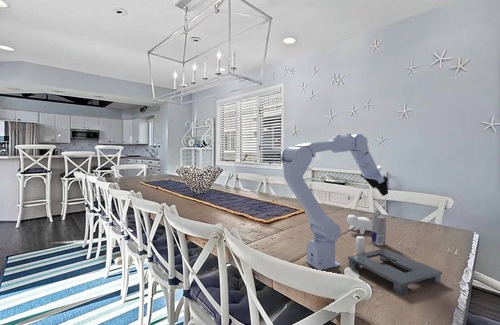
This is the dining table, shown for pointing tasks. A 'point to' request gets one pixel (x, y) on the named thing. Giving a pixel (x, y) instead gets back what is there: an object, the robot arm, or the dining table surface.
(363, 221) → the white animal figurine
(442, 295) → the dining table surface
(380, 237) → the energy drink
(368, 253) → the keyhole plate
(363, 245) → the keyhole peg
